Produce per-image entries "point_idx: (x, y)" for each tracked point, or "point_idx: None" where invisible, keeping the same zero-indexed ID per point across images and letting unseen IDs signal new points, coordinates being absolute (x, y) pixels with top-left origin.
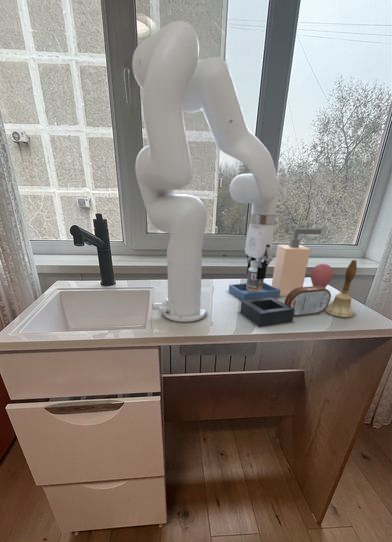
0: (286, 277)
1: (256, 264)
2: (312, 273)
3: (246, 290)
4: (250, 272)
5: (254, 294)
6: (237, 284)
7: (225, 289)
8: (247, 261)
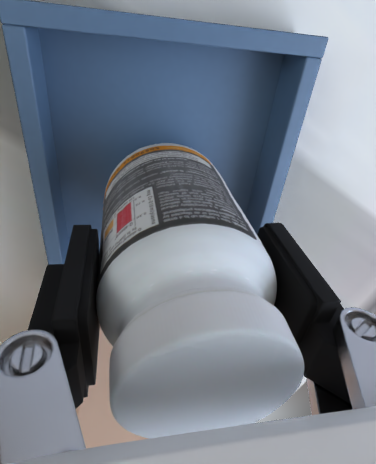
0: None
1: (130, 345)
2: None
3: (225, 166)
4: (171, 219)
5: (24, 121)
6: (290, 120)
7: (353, 43)
8: (374, 318)
